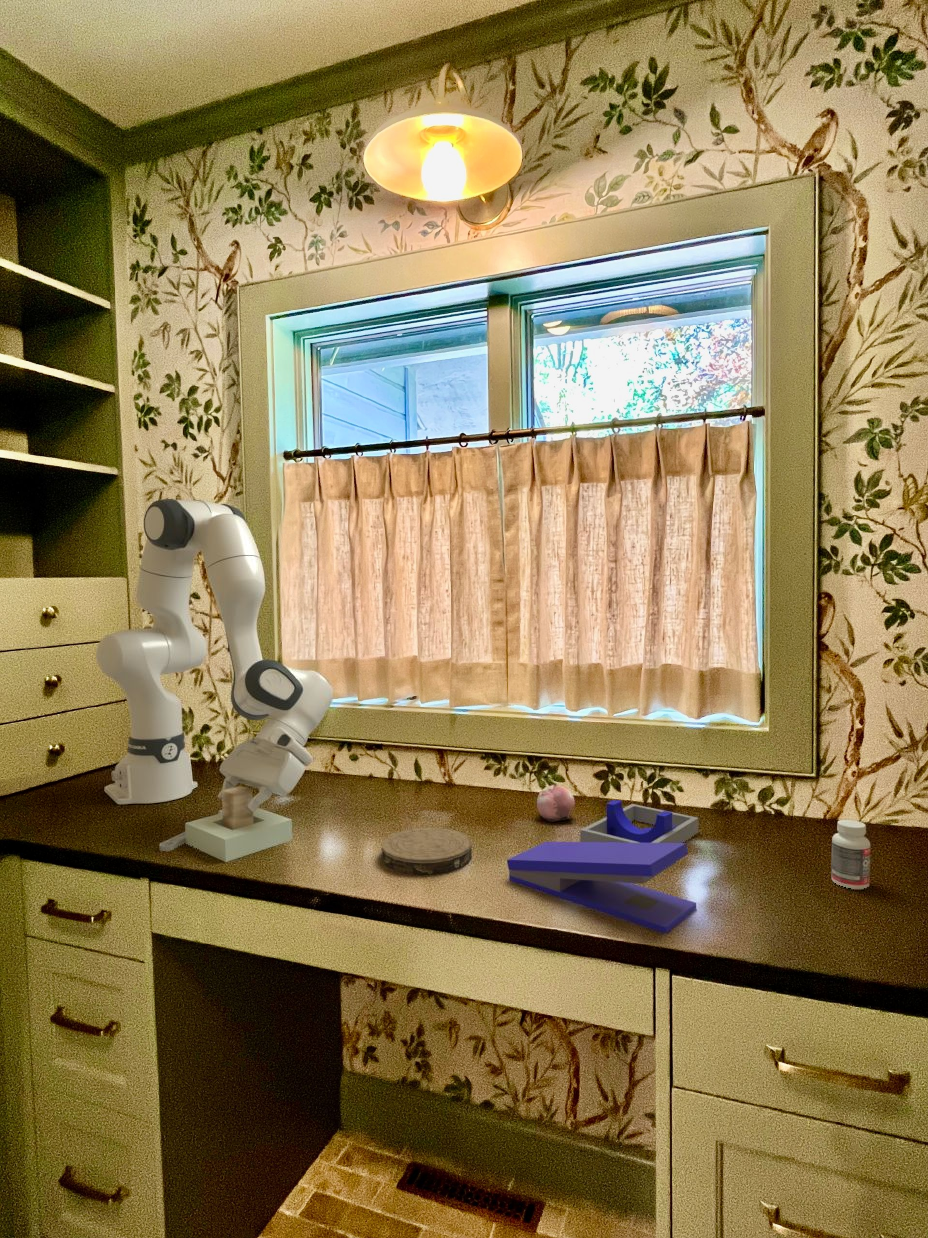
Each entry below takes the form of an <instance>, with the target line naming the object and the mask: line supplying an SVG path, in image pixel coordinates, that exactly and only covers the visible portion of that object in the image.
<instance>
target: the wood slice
mask: <svg viewBox="0 0 928 1238" xmlns="http://www.w3.org/2000/svg"><path fill="white" fill-rule="evenodd" d="M472 850H473V848H472V841H471V837H469V836H468V835H467V834H465V833H464V832H461V831H458V830H454V829H449V828H443V827H418V828H411V829H406V830H402V831H399V832H398V831H397V832H395V833H393V834H391V835H389V836H387V837H386V838H385V839H383V841H382V846H381V856H382V857H381V862H382V863H383V865H384V866H385V867H386V868H387V869H389V870H391V871H393V872H395V873H399V874H401V875H408V876H418V877H424V876H426V877H427V876H429V877H430V876H440V875H446V874H450V873H453V872H457V871H460V870H461V869H463V868H465V867H466V866H469V864H470V863H471V861H472V859H473V858H472V857H473V856H472V854H473V851H472Z"/></svg>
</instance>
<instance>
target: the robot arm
mask: <svg viewBox="0 0 928 1238" xmlns="http://www.w3.org/2000/svg"><path fill="white" fill-rule="evenodd" d="M246 520H247V519H246V518H245V516H244V514H243V512H242V511H241V510H240V509H238V508H237V507H235V506H232V505H230V504H226V503H217V502H213V501H208V500H201V499H196V500H192V499H191V500H190V499H173V498H165V499H159V500H155V501H153V502H151V504H149V506H148V507H147V508H146V511H145V514H144V517H143V531H144V533H145V535H146V540H145V544H144V548H143V552H142V555H141V560H140V566H139V574H138V581H137V585H136V586H137V587H136V593H135V596H136V602H137V603H138V605H139V607H141V609H142V610H144V611H146V612H147V613H148V614H150V615H152V620H153V621H152V622H153V623H152V627H150V628H138V629H137V628H136V629H134V628H133V629H125V630H121V631H120V630H119V631H118V632H117V631H116V632H113V633H110V634H107V635H105V636H103V637H102V639H100V641H99V643H98V645H97V648H96V650H95V651H96V652H95V658H96V663H97V666H98V667H99V669H100V670H101V672H102V673H103V674H104V675H105V676H107V677H108V678H110V679H111V680H113V682H115V683H116V684H117V685H118V686H119V688H120V689H121V691H122V692H123V694H124V696H125V698H126V701H127V705H128V712H129V725H130V736H129V737H127V739H128V740H127V748H126V752H127V753H126V754H125V756H124V757H122V759H121V760H120V761H119V762H118V763H117V764H116V765H115V766H114V767H115V768H114V770H112V771H111V775H110V776H111V781H114V783H110V784H108V785H106V786H104V792H105V793H106V794H107V795H108V796H109V797H110V798H111V799H112V800H113V801H114V802H115V803H116V804H117V805H128V804H129V805H130V804H155V803H165V802H170V801H173V800H178V799H180V798H184V797H186V796H188V795H190V794H191V793H192V791H193V790H194V789H195V788H197V787H199V786H198V782H197V781H193V771H192V764H191V762H192V761H191V755H190V753H188V751H186V750H185V748H186V737H185V732H184V731H183V705H182V702H181V700H180V698H179V697H178V696H177V695H176V694H175V693H173V692H171V691H168V690H166V689H165V688H164V686H163V683H162V680H161V675H162V676H164V675H170V674H177V673H184V672H187V671H189V670H192V669H194V668H197V667H200V666H201V665H202V664H203V663H204V662H205V660H206V657H207V653H208V644H207V640H206V638H205V636H204V635H203V633H202V632H201V631H200V630H199V629H197V627H196V626H195V625H194V622H193V621H192V618H191V615H190V596H191V590H192V589H191V588H192V581H193V576H194V575H193V572H194V567H195V560H196V556H197V555H198V553H200V552H201V554H202V557H203V561H204V566H205V570H206V574H207V579H208V581H209V584H210V588H211V591H212V593H213V597H214V599H215V602H216V605H217V608H218V611H219V615H220V618H221V621H222V624H223V627H224V631H225V636H226V642H227V647H228V651H229V655H230V660H231V665H232V669H233V680H232V681H233V682H232V685H231V690H230V691H231V692H230V701H231V705H232V708H233V709H234V710H235V712H236V713H237V714H238V715H239V716H240V717H242V718H244V719H246V720H252V721H260V720H261V721H262V720H264V719H267V720H266V722H265V723H264V725H263V726H262V728H261V729H260V730H259V732H258V733H257V734H256V736H255V737H251V738H249V739H247V740H244V741H243V742H241V743H238V745H236V747H234V748H233V750H231V752H230V753H229V755H227V757H226V758H225V759H224V760H223V761H222V763H220V766H219V773H221V774H222V775H223V777H225V778H224V780H223V784H222V787H221V790H220V791H219V793H218V794H217V798H218V799H219V800H220V801H222V790H226V789H230V788H234V787H237V785H238V784H243V785H246V786H249V787H252V788H255V789H258V793H257V794H256V795H254V796H253V798H249V800H248V802H247V803H246V804H245V807H246V808H247V809H248V810H250V811H253V812H255V811H256V810H257V808H260V805H262V804H263V803H265V802H267V800H269V799H270V798H271V796H272V795H273V794H275V795H277V796H281V797H285V796H287V795H288V794H290V793H291V792H292V791H293V790H294V789H295V787H296V786H297V784H298V782H299V781H300V779H301V778H302V776H303V774H304V773H305V770H306V767H308V766H310V765H311V764H312V763H313V760H314V757H313V756H312V755H311V753H310V752H309V751H308V750H307V749H306V748H305V745H306V743H307V742H308V738H309V736H310V735H311V733H312V732H313V731H314V730H315V729H316V728H317V727H318V726H319V725H320V723H321V722H322V720H323V719H324V717H325V715H326V714H327V712H328V710H329V709H330V707H331V705H332V702H333V700H334V699H333V698H334V689H333V687H332V685H331V683H330V682H329V680H328V679H327V678H326V677H325V676H324V675H322V674H321V673H319V672H318V671H315V670H312V669H309V670H306V669H305V670H303V669H297V668H294V667H290V666H287V665H284V664H283V663H281V662H279V661H278V660H275V659H263V655H262V649H261V646H260V645H261V644H260V642H259V636H258V628H257V625H258V616H259V612H260V608H261V605H262V603H263V600H264V596H265V593H266V582H265V581H266V580H265V572H264V567H263V562H262V559H261V555H260V553H259V550H258V546H257V544H256V541H255V538H254V536H253V533H252V532H251V530H250V528H249V526H248V524H247V521H246Z"/></svg>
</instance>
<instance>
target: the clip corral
mask: <svg viewBox="0 0 928 1238" xmlns="http://www.w3.org/2000/svg"><path fill="white" fill-rule="evenodd" d="M622 808H623V811H624V814H625V816H626V817H627V819H628V820H629V821H630V822H631V823H633V822H634V820H635V822H640V823H643V822H644V823H643V824H647V823H649V824H648V825H652V824H653V825H652V826H654V825H655V823H656V818H657V814H659V813H661V812H663V811H665V810H663V809H658V808H653V807H650V806H649V807H648V806H644V805H640V804H639V805H638V804H635V803H631V804H629V805H626V807H622ZM666 811H667V810H666ZM667 812H669V810H668V811H667ZM671 812H672V826H675V827H676V828H675V829H673V830H671V831H669V832H668V833H666V834H664V835H663V836H661V837H659V838H658V839H656V840H654V841H653V842H651V843H683V842H684V841H686V840H687V841H689V840H690V839H692V838H693V837H695V836H696V835H697V834H696V833H698V834H699V817H697V816H691V815H687V814H681V813H677V812H673V811H671ZM632 821H633V822H632ZM579 833H580V834H579V835H580V838H579V839H580V840H579V842H625V843H640V842H636V841H632V840H628V839H624V838H620V837H616V836H612V835H608V834H607V816H604V817H603V818H601V819H599V820H597V821H595V822H593V823H591V824H590V825H586V826H585V827H583V828H581V829H580V831H579ZM695 834H696V835H695ZM694 835H695V836H694ZM692 836H693V837H692ZM691 837H692V838H691ZM689 838H690V839H689ZM688 839H689V840H688ZM687 841H686V842H687ZM684 843H685V842H684Z"/></svg>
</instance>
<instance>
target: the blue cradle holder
mask: <svg viewBox="0 0 928 1238" xmlns="http://www.w3.org/2000/svg"><path fill="white" fill-rule="evenodd" d="M622 802H623V800H618V799H614V800H611V801H609V802H607V803H606V817H607V834H608V835H612V836H616V837H620V838H624V839H628V840H632V841H636V842H640V843H651V842H653V841H654V840H656V839H658V838H659V837H661V836H663V835H664V834H666V833H668V832H669V831H671V830H673V829H675V828H676V827H675V826H672V812H673V811H668V812H667V810H664V811H663V812H661V813H659V814H657V818H656V823H655V825H653V827H645V828H643V829H642V828H639V827H637V826H636V825H634V824H633V822H630V821H629V820H628V819H627V817H626V816H625V814H624V811H623V808H624V807H623V803H622Z"/></svg>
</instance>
